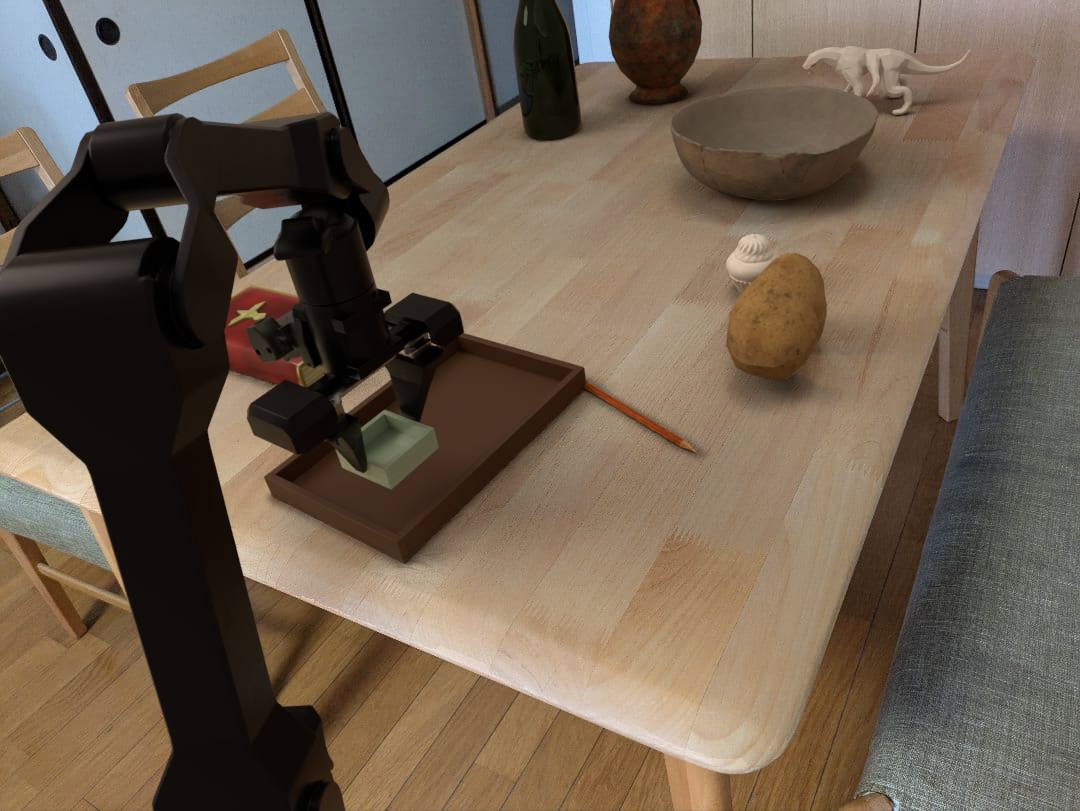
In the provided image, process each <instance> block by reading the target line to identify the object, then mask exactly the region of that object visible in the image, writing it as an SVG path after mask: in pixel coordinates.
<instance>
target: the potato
mask: <svg viewBox="0 0 1080 811" xmlns="http://www.w3.org/2000/svg"><path fill="white" fill-rule="evenodd" d="M827 315H828V304H827V299H826V290H825V280H824V278H823V276H822V274H821V271H820V269H819V268H818V267H817V266H816V265H815V264H814V263H813V261H811V259H809V258H808V257H807V256H805V255H803V254H800V253H797V252H789V253H787V252H786V253H783V254H781V255H780V257H778V258H776V259H774V260H773V261H772V262H771V263H770V264H769V265H768V266H767V267H766V268H765V269H764V270H763V271H762V272H761V274H760V275H759V276H758V277H757V278H756V279H755V280H754V281H753V282H752V283H751V284H750V285H749V286H748V287H747V288H746V289H745V290H744V291H743V292H742V293H739V295H738V297H737V299H736V301H735V302H734V304H733V306H732V308H731V310H730V312H729V315H728V322H727V331H726V343H725V344H726V345H725V346H726V348H727V351H728V353H729V356H730V358H731V360H732V362H733V364H734V367H736V368H737V369H739V370H740V371H742V372H744V373H746V374H747V375H751V376H755V377H759V378H763V379H770V380H787V378H790V377H791V376H793V375H794V374H796V373H797V372H798V371H799V370H800V369H801V368H803V367H804V366H805V365H806V364H807V363H808V361H809V359H810V358H811V356H812V355H813V353H814V351H815V349H816V347H817V345H818V343H819V342H820V340H821V337H822V335H823V332H824V329H825V324H826V320H827Z"/></svg>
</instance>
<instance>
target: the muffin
mask: <svg viewBox="0 0 1080 811" xmlns="http://www.w3.org/2000/svg"><path fill="white" fill-rule="evenodd" d="M780 256H781V255H780V253H779V252H778V251H776V250H775V249H774V248H773V247H772V246H771V241H770V239H769V238H768V237H767V236H766V235H763V234H759V233H758V234H757V233H754V234H753V233H751V234H747V235H746V236H742V238H741V239H739V241H738V244H737V247H736V248H735V250H734V251H733V252H731V254H729V255H728V258H727V260H726V262H725V267H726V270H727V272H728V275H729V278H730V280H731V281H732V283H733V284H734V286H735V287H736V289H737V291H738V292H739V294H741V293H742V292H743V291H744V290H745V289H746V288H747V287H748V286H749V285H750V284H751V283H752V282H753V281H754V280H755V279H756V278H757V277H758V276H759V275H760V274H761V272H762V271H763V270H764V269H765V268H766V267H767V266H768V265H769V264H770V263H771V262H772V261H773V260H774V259H776V258H778V257H780Z"/></svg>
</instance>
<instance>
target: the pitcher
mask: <svg viewBox="0 0 1080 811" xmlns="http://www.w3.org/2000/svg"><path fill="white" fill-rule="evenodd" d="M700 7H701V6H700V4H699V1H698V0H614V2H613V6H612V10H611V14H610V18H609V28H608V41H609V46H610V51H611V56H612V58H613V60H614V62H615V63H616V65H617V67H618V69H619V71H620V72H621V73H622V74H623V75H624V76H625V77H626V78H627V79H628V80H629V81H630V82H631V83H633V84H634V85H635V88H634V90H633V91H631V92H630V93H629V95H628V99H629V101H630V102H631V103H633V104H637V105H645V106H657V105H666V104H671V103H676V102H678V101H681V100H683V99H685V98H686V97H688V95H689V89H688V88H687V87H686V86H685V85H682V83H681V81H682V80H683V79H684V77H685V76H686V75H687V73H688V72H689V71H690V69H691V68H692V66H693V64H694V63H695V60H696V58H697V55H698V52H699V50H700V47H701V45H702V34H703V33H702V32H703V20H702V14H701V8H700Z"/></svg>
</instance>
